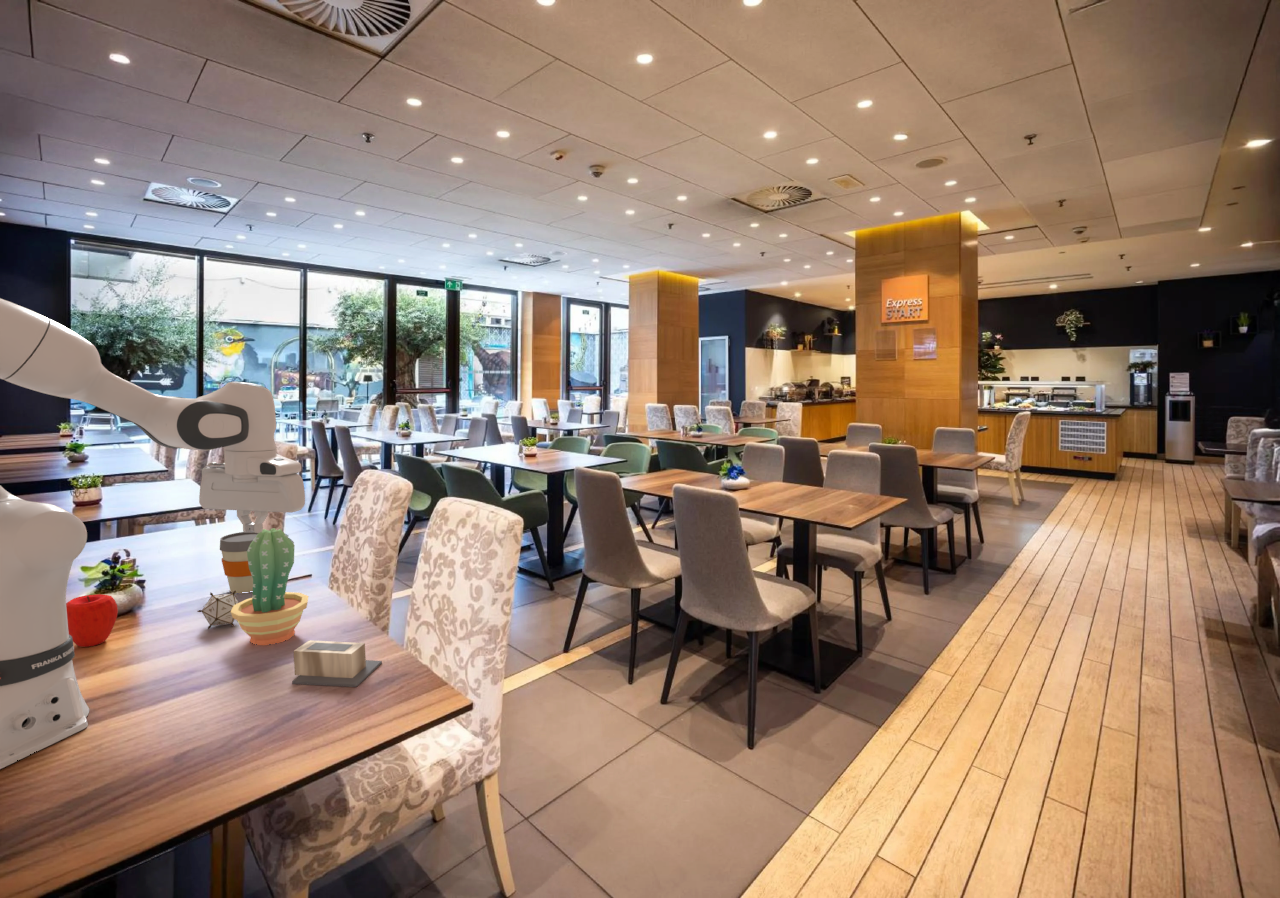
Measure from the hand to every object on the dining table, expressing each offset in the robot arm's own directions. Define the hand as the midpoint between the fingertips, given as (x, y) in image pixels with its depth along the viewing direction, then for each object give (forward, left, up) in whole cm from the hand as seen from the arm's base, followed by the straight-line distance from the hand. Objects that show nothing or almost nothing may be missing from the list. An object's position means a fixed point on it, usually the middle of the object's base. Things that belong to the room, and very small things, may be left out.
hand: (253, 532), depth 122 cm
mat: (-1, -18, -28) cm, 33 cm away
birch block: (-1, -10, -25) cm, 27 cm away
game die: (+19, +23, -29) cm, 41 cm away
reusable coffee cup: (+44, +35, -29) cm, 63 cm away
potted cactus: (+14, +7, -29) cm, 32 cm away
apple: (+7, +44, -29) cm, 53 cm away
